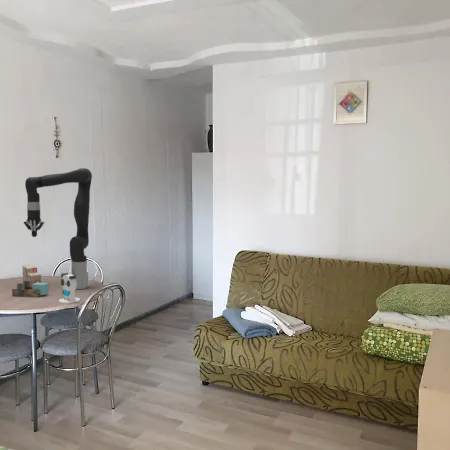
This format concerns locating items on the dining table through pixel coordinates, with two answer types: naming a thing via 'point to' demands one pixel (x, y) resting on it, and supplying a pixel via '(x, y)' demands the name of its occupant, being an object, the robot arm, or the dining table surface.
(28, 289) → the wooden rail tray
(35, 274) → the stack of blocks
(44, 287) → the block
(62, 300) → the panda figurine
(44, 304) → the dining table surface
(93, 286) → the dining table surface
